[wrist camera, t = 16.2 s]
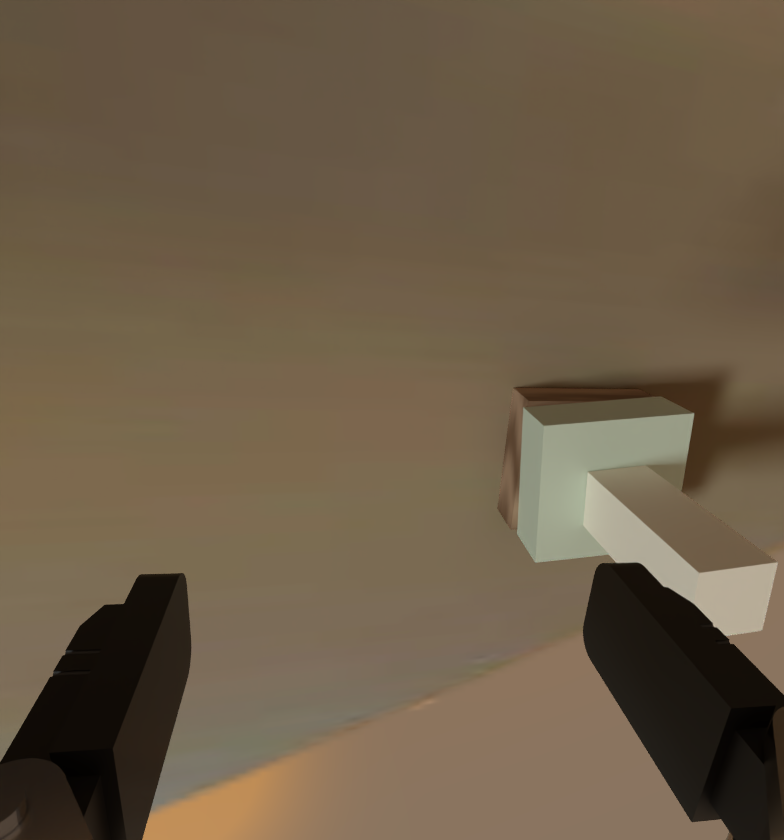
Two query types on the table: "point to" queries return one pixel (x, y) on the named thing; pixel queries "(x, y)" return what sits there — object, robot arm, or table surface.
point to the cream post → (680, 546)
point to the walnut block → (514, 434)
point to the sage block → (590, 464)
